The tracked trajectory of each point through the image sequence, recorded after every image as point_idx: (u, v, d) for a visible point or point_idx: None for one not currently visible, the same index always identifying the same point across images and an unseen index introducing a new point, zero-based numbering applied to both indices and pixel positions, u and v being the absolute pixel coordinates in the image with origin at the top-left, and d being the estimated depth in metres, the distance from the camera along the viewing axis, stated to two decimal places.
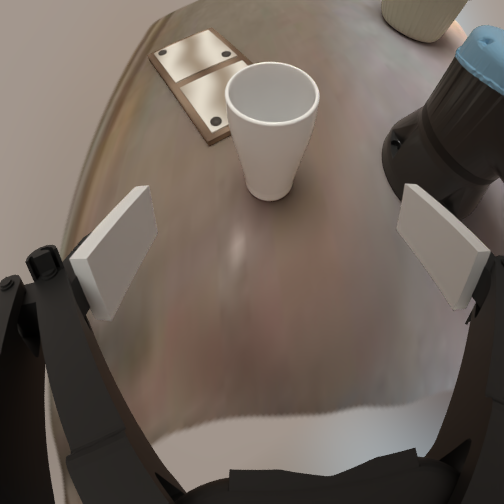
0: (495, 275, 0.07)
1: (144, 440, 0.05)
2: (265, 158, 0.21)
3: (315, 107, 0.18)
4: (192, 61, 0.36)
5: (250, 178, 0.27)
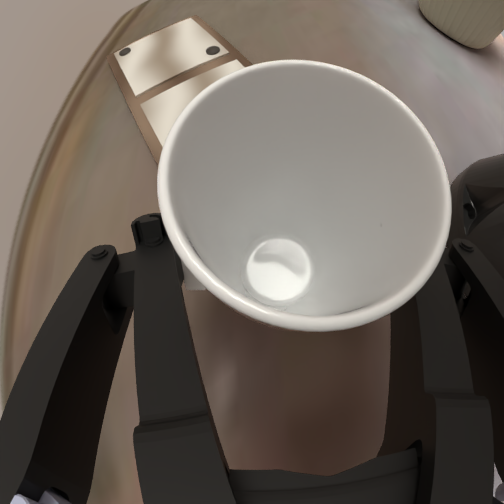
0: None
1: (214, 425, 0.06)
2: None
3: (446, 239, 0.05)
4: (163, 62, 0.24)
5: None
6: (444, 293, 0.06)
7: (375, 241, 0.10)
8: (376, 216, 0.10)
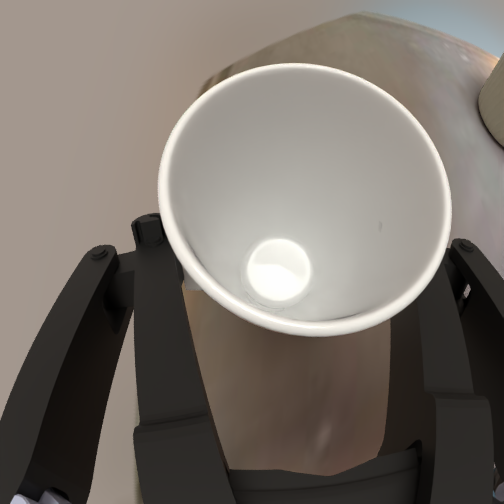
0: None
1: (214, 425, 0.06)
2: None
3: (446, 244, 0.05)
4: None
5: None
6: (444, 293, 0.06)
7: (375, 244, 0.10)
8: (376, 219, 0.10)
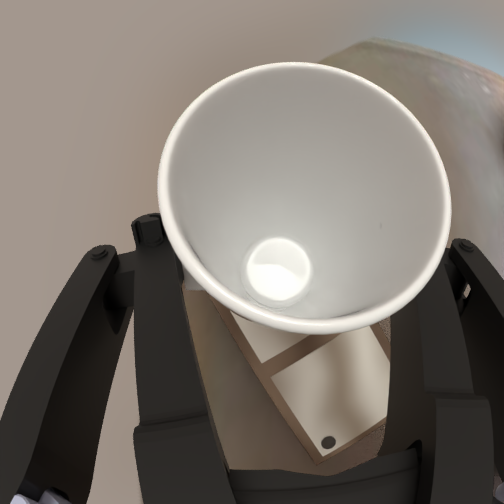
0: None
1: (214, 425, 0.06)
2: None
3: (446, 242, 0.05)
4: None
5: None
6: (444, 293, 0.06)
7: (375, 243, 0.10)
8: (376, 218, 0.10)
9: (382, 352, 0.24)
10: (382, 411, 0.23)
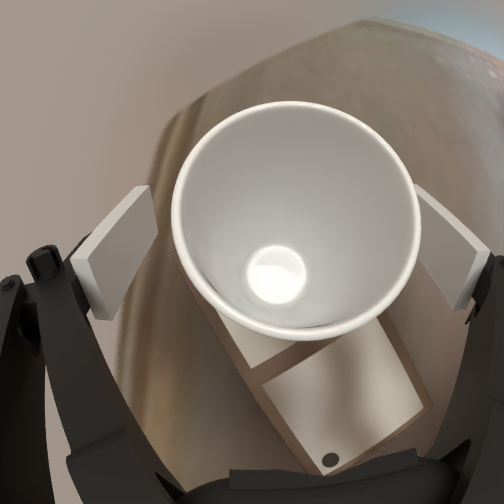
0: (495, 275, 0.07)
1: (144, 440, 0.05)
2: None
3: (413, 266, 0.07)
4: None
5: None
6: None
7: (361, 257, 0.11)
8: (362, 234, 0.11)
9: (394, 354, 0.20)
10: (393, 423, 0.19)
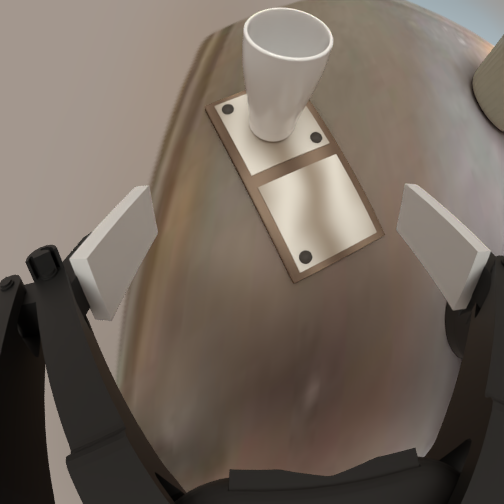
0: (495, 275, 0.07)
1: (144, 440, 0.05)
2: (273, 92, 0.20)
3: (328, 51, 0.16)
4: None
5: (254, 114, 0.26)
6: None
7: None
8: None
9: (351, 184, 0.31)
10: (353, 236, 0.31)
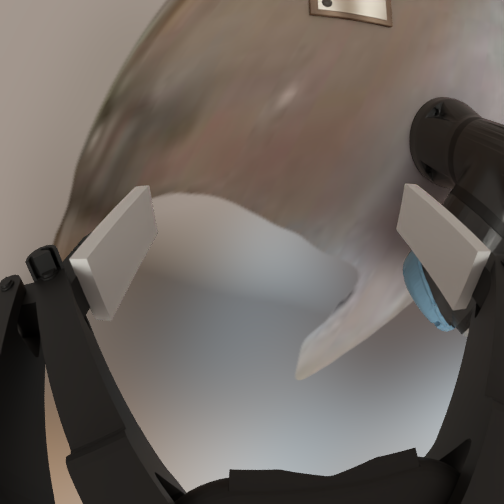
0: (495, 275, 0.07)
1: (144, 440, 0.05)
2: None
3: None
4: None
5: None
6: None
7: None
8: None
9: None
10: (367, 11, 0.27)
